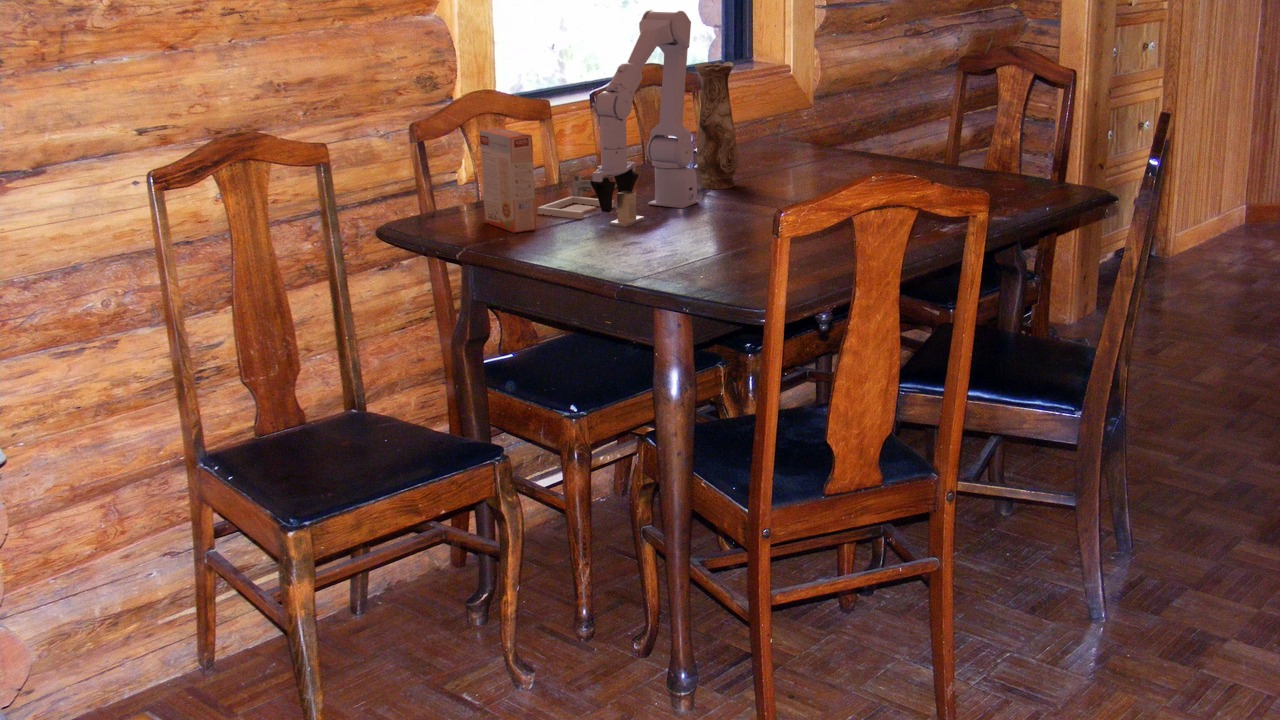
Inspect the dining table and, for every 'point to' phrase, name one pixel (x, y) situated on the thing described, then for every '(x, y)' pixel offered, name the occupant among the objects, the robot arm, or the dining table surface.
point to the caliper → (581, 186)
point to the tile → (581, 208)
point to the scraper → (626, 209)
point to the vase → (716, 128)
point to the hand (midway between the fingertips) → (615, 208)
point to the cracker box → (508, 179)
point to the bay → (553, 207)
